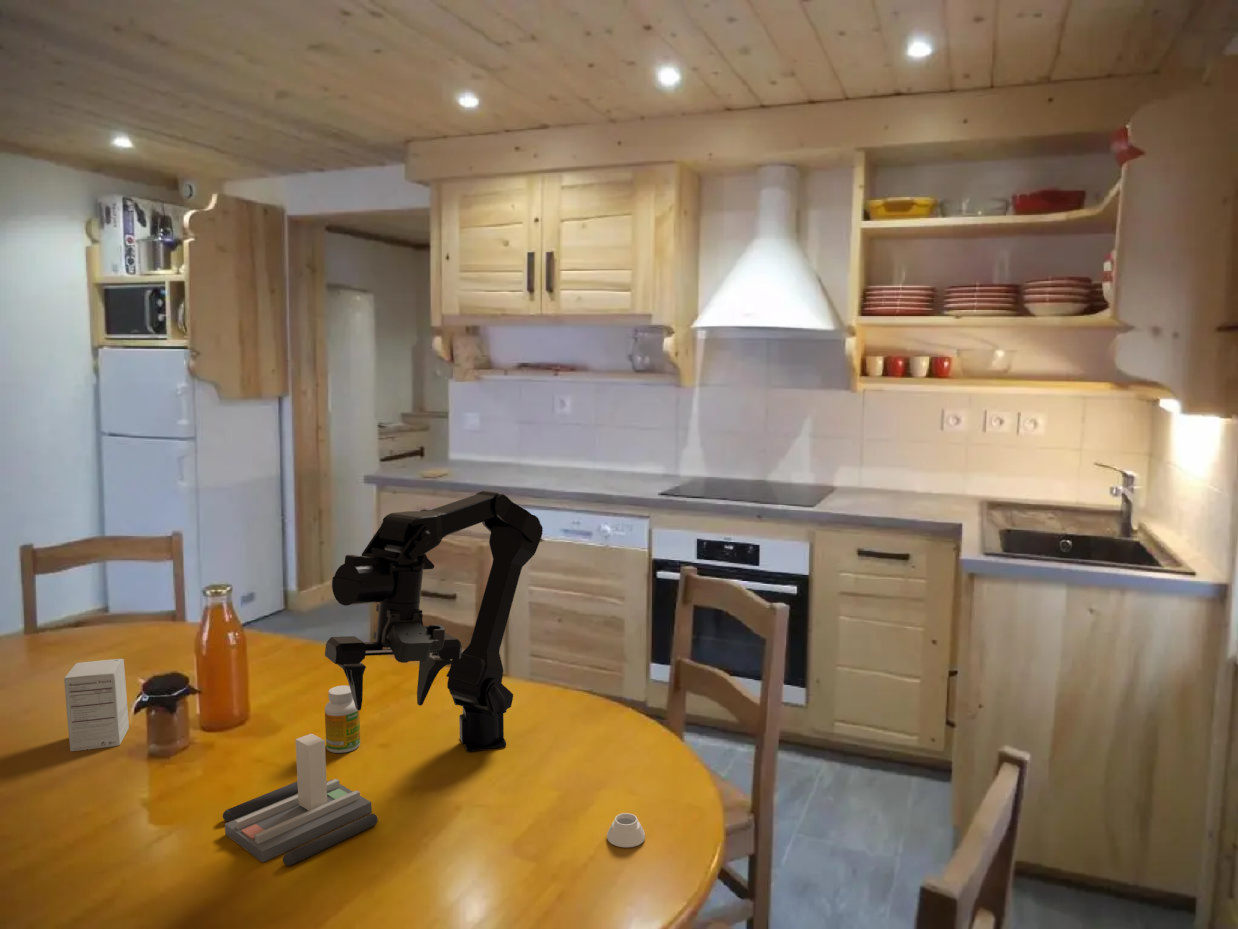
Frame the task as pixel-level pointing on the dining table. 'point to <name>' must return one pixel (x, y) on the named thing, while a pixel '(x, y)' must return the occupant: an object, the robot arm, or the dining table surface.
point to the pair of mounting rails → (312, 846)
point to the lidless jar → (626, 831)
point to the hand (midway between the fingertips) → (389, 707)
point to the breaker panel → (295, 822)
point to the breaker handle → (311, 771)
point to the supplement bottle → (341, 721)
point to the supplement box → (96, 704)
